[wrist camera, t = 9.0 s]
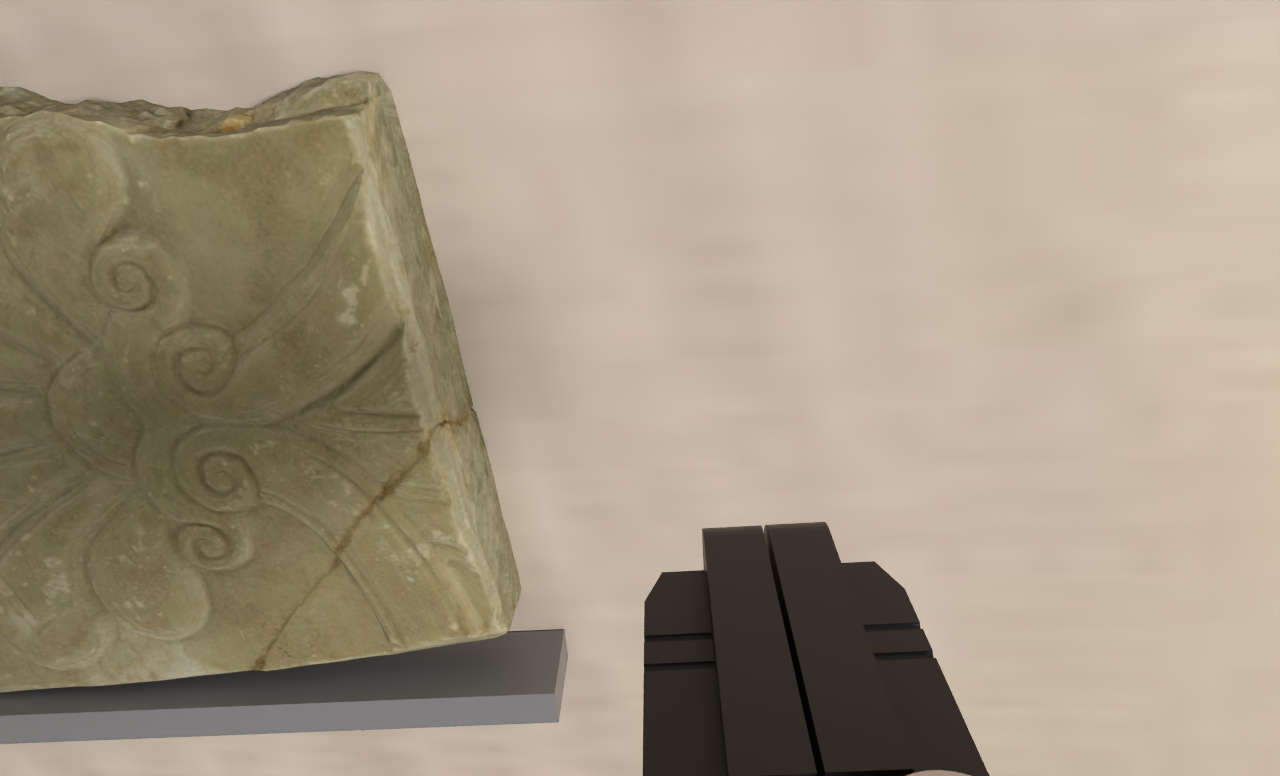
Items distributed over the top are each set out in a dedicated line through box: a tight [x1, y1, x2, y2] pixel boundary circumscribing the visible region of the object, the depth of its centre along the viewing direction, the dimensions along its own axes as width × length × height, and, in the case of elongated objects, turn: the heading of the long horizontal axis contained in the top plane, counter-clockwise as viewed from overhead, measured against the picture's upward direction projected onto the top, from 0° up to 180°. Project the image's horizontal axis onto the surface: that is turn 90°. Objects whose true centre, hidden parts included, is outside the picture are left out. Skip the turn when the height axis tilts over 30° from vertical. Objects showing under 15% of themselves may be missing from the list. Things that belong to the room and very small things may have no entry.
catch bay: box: [0, 630, 568, 744], centre depth 22 cm, size 26×23×3 cm
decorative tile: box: [0, 71, 521, 692], centre depth 23 cm, size 19×20×4 cm
